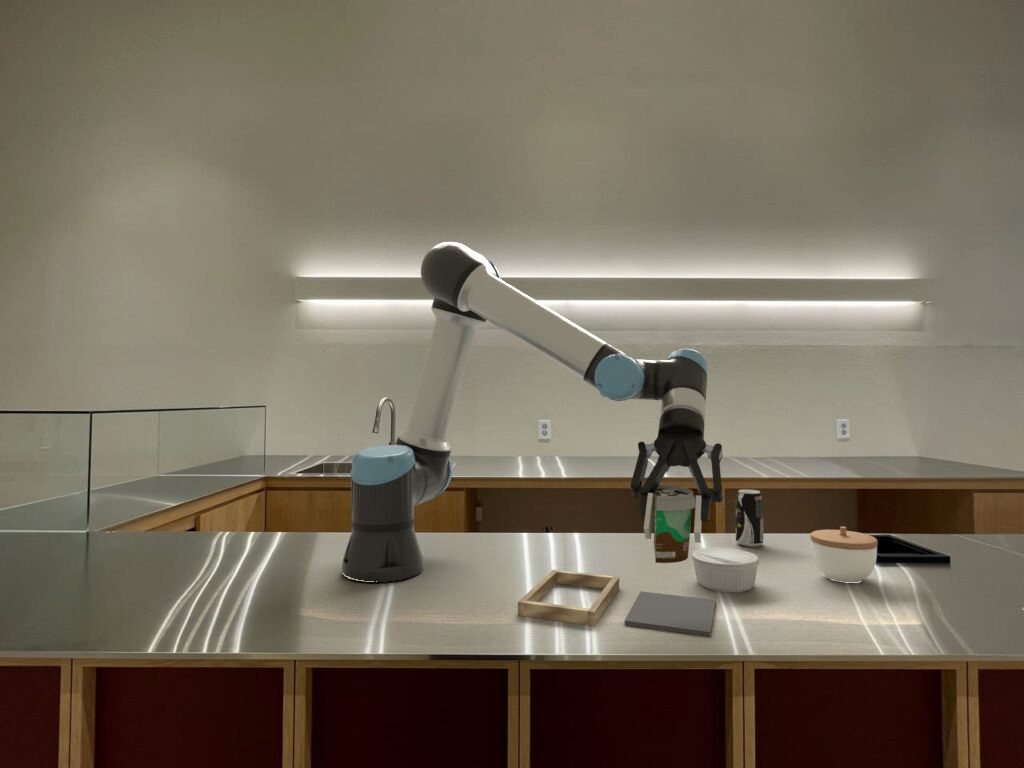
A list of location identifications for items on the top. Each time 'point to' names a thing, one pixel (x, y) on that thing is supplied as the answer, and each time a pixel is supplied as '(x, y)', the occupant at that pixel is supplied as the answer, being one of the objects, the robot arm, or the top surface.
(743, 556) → the ramekin
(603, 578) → the oak frame
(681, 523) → the food container
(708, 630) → the charcoal mat
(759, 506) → the beverage can
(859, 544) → the lidded jar
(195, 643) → the top surface
